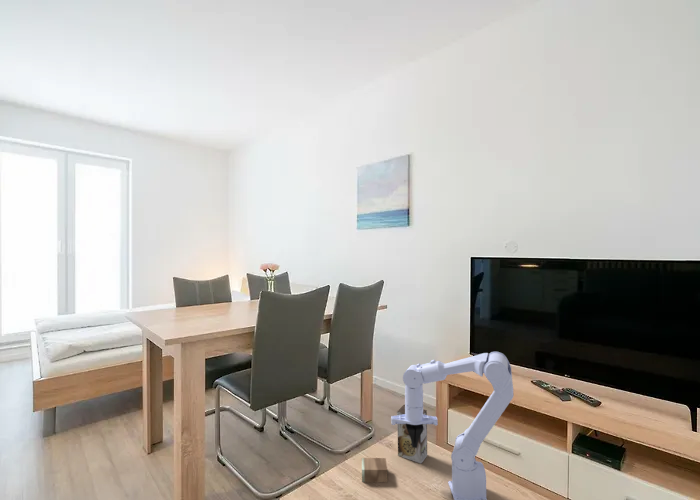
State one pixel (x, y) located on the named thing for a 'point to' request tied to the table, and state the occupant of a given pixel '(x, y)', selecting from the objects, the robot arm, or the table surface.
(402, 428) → the coffee box
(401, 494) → the table surface
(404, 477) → the table surface
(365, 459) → the wooden block
